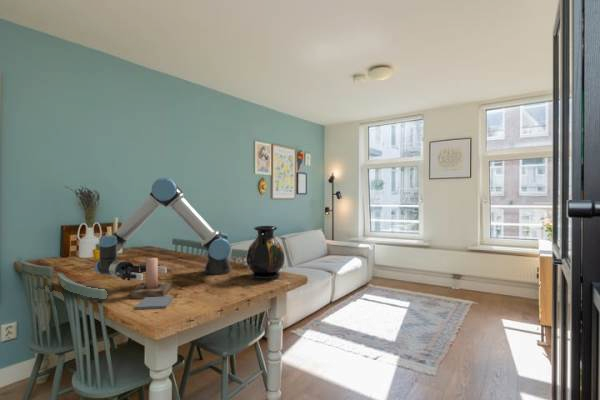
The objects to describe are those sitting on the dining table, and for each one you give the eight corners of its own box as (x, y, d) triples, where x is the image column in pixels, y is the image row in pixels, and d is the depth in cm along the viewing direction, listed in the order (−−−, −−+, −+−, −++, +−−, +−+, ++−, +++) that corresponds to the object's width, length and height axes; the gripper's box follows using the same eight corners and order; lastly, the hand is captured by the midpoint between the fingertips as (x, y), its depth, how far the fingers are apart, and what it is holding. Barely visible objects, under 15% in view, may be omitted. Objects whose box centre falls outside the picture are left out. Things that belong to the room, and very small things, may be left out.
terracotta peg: (159, 291, 150) (159, 257, 150) (156, 294, 145) (155, 259, 145) (148, 291, 150) (148, 257, 149) (144, 295, 145) (144, 260, 144)
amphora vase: (279, 283, 165) (279, 229, 164) (240, 281, 168) (240, 228, 168) (288, 273, 186) (288, 225, 185) (253, 271, 190) (253, 224, 189)
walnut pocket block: (171, 288, 155) (171, 282, 155) (163, 297, 141) (163, 290, 141) (141, 289, 153) (141, 283, 153) (130, 298, 140) (130, 291, 139)
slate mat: (173, 298, 140) (173, 296, 140) (166, 308, 128) (166, 305, 128) (145, 299, 138) (145, 297, 138) (134, 309, 127) (134, 307, 127)
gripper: (143, 271, 166) (174, 275, 158) (97, 283, 143) (131, 289, 135) (143, 256, 166) (174, 260, 158) (97, 266, 143) (130, 271, 135)
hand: (154, 273), depth 146 cm, fingers open, 13 cm apart
